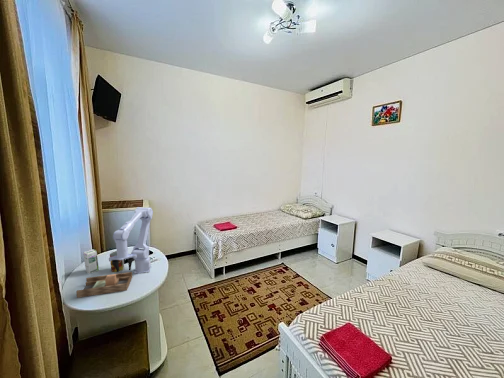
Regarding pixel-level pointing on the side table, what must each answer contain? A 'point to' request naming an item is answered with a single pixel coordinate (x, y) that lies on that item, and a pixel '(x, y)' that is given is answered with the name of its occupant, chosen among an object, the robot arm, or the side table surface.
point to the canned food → (121, 263)
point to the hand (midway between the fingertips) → (124, 270)
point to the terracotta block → (110, 279)
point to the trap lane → (99, 287)
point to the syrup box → (91, 261)
